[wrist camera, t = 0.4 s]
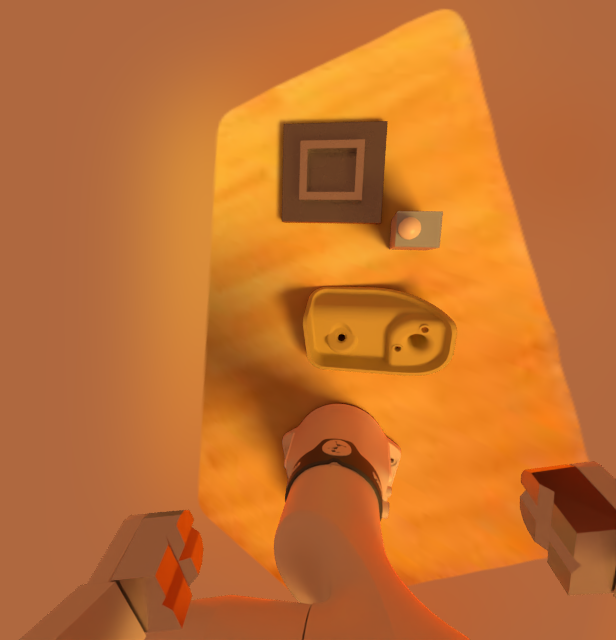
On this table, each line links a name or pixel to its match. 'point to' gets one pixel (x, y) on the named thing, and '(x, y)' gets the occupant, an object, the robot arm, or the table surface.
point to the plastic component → (377, 332)
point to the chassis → (333, 172)
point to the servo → (415, 230)
